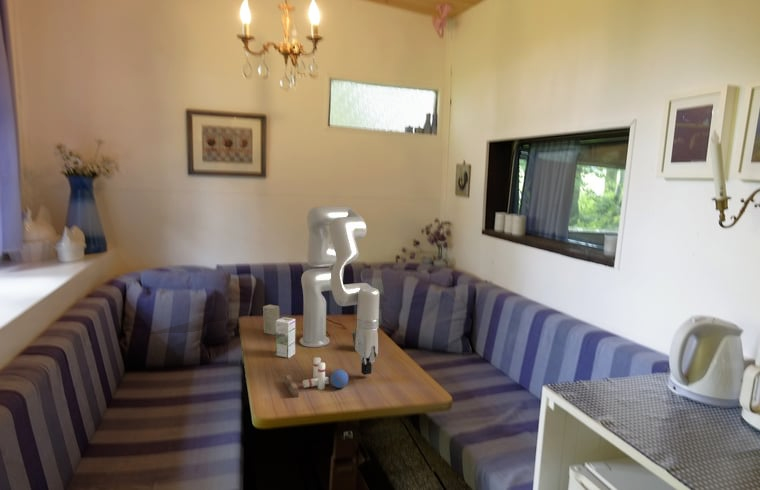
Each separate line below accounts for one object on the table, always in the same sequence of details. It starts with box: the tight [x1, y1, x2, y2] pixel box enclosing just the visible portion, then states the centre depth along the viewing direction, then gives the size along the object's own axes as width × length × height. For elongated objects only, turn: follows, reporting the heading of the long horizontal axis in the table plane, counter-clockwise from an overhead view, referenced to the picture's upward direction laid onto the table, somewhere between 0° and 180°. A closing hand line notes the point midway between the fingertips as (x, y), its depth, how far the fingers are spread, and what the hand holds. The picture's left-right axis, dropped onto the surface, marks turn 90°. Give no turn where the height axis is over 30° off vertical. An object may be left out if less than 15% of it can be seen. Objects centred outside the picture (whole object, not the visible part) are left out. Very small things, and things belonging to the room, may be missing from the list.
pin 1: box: [312, 356, 322, 379], centre depth 163 cm, size 2×2×8 cm
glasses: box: [326, 317, 348, 337], centre depth 220 cm, size 13×13×5 cm
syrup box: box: [275, 317, 296, 359], centre depth 187 cm, size 6×6×14 cm
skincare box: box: [262, 304, 281, 335], centre depth 213 cm, size 6×4×12 cm
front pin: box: [302, 376, 330, 389], centre depth 161 cm, size 2×2×8 cm
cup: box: [351, 328, 357, 346], centre depth 196 cm, size 8×7×8 cm
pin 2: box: [317, 361, 326, 390], centre depth 159 cm, size 2×2×8 cm
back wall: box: [284, 373, 300, 398], centre depth 158 cm, size 12×2×3 cm, turn 25°
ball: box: [330, 369, 349, 389], centre depth 160 cm, size 6×6×6 cm
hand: (366, 373), depth 169 cm, fingers closed
